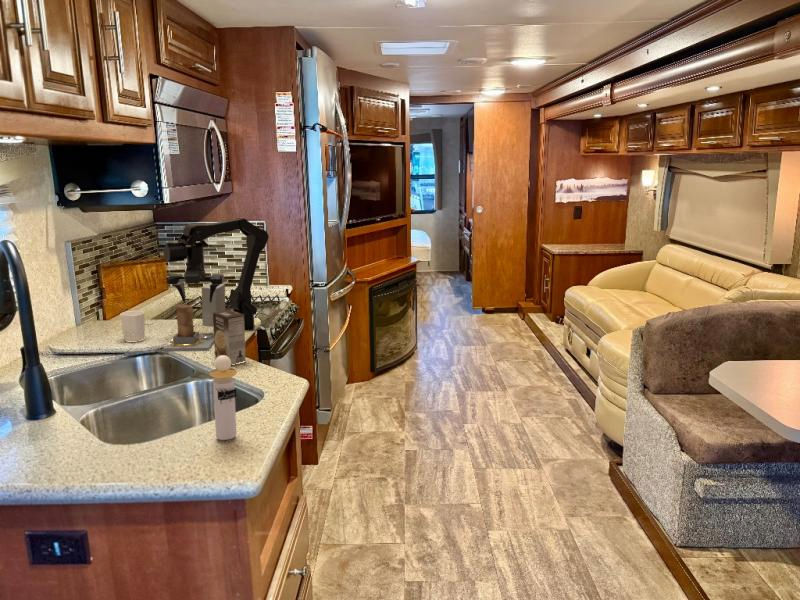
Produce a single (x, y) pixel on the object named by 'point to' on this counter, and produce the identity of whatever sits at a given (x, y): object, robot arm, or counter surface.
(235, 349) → the coffee box
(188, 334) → the peg
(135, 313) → the white cup
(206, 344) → the board
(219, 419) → the perfume bottle
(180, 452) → the counter surface
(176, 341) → the gears
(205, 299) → the skincare box
